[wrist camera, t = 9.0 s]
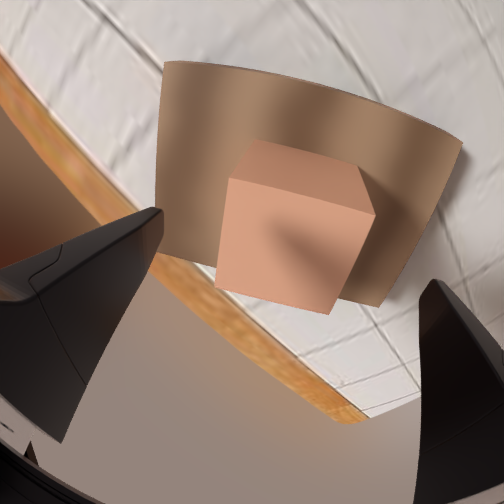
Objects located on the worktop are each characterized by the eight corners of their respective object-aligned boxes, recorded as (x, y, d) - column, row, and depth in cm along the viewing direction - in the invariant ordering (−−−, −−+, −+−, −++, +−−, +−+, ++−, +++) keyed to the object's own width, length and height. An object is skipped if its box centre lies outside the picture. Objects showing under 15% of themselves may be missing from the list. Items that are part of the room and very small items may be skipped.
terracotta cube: (357, 165, 16) (375, 215, 11) (327, 247, 20) (328, 314, 15) (255, 139, 16) (228, 177, 12) (239, 225, 20) (214, 287, 15)
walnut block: (444, 130, 16) (463, 142, 14) (374, 282, 24) (379, 307, 22) (183, 60, 17) (164, 61, 14) (170, 231, 25) (155, 251, 23)
